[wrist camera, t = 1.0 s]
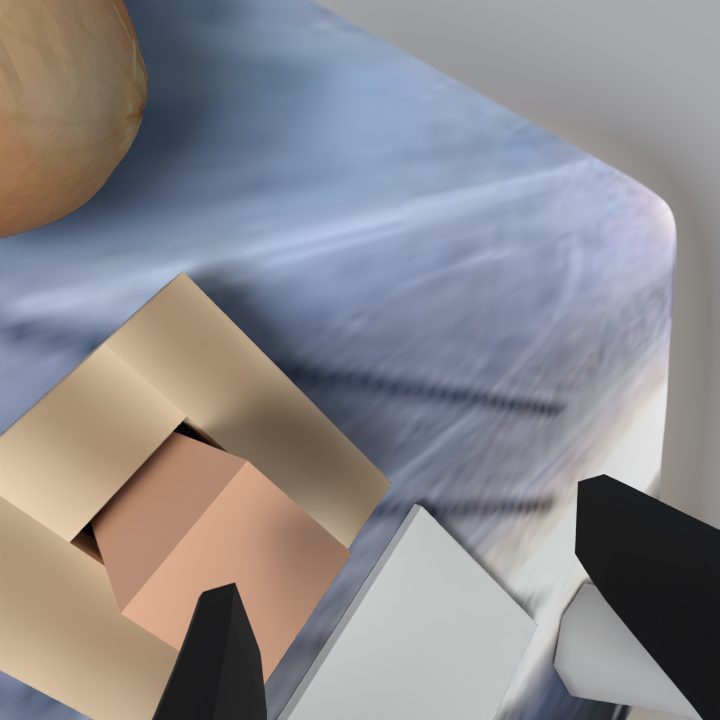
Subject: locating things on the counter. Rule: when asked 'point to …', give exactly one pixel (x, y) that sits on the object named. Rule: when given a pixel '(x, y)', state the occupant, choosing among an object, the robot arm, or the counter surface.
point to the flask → (611, 660)
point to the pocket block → (118, 463)
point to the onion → (64, 104)
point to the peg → (213, 546)
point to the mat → (418, 638)
